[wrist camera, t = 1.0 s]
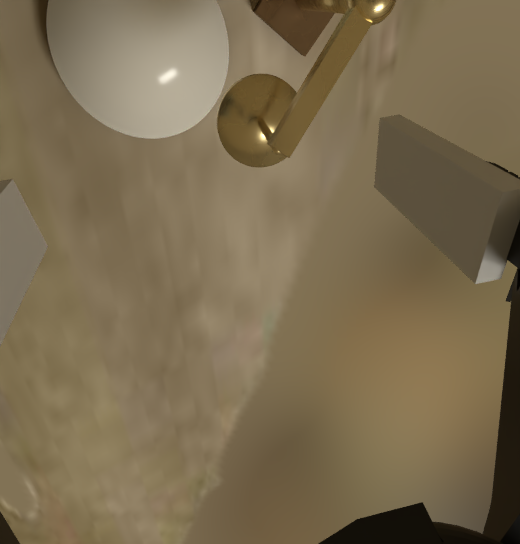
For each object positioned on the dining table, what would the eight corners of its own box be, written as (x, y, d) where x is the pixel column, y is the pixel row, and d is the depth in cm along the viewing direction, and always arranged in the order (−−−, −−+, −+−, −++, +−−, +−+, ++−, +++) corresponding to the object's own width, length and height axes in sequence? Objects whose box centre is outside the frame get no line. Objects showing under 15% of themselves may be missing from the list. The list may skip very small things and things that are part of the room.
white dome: (24, 71, 29) (18, 73, 29) (96, -116, 24) (93, -121, 24) (176, 162, 35) (176, 167, 34) (259, 26, 30) (262, 27, 29)
